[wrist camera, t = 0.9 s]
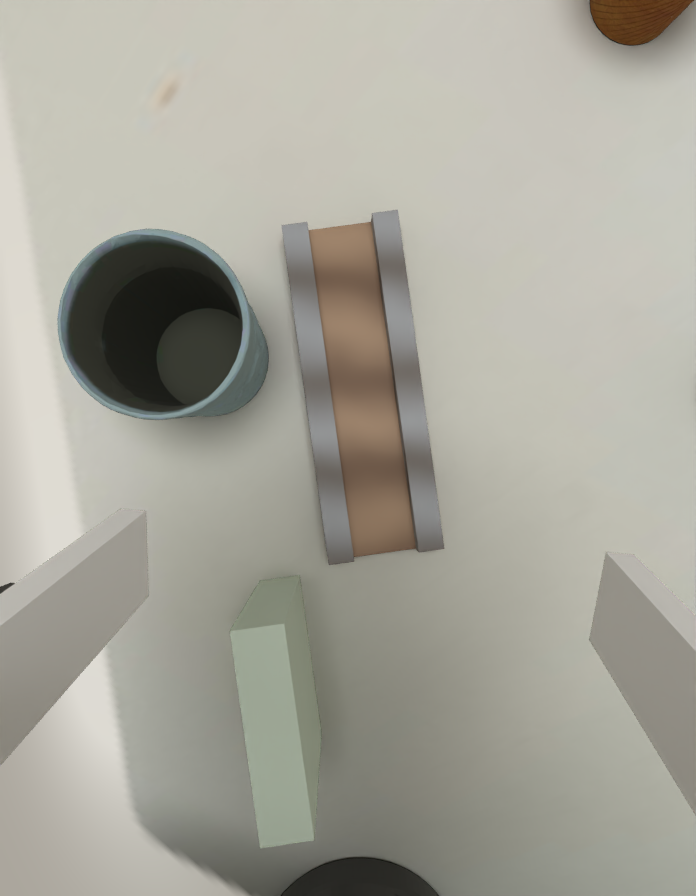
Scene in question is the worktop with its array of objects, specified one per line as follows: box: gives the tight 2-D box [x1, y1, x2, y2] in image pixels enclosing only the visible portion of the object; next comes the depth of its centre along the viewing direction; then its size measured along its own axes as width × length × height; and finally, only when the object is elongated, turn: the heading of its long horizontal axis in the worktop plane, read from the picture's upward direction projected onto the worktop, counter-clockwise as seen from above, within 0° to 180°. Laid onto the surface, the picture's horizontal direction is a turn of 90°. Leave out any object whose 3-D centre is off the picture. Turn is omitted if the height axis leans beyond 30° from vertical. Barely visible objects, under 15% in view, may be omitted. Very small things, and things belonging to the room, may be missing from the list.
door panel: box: [230, 575, 322, 848], centre depth 35 cm, size 12×3×11 cm, turn 8°
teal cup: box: [57, 229, 268, 420], centre depth 34 cm, size 10×10×12 cm
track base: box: [282, 210, 444, 565], centre depth 39 cm, size 24×8×2 cm, turn 8°
